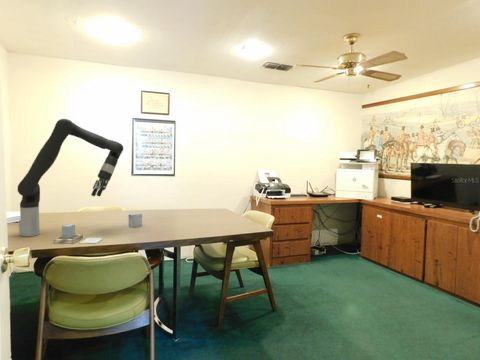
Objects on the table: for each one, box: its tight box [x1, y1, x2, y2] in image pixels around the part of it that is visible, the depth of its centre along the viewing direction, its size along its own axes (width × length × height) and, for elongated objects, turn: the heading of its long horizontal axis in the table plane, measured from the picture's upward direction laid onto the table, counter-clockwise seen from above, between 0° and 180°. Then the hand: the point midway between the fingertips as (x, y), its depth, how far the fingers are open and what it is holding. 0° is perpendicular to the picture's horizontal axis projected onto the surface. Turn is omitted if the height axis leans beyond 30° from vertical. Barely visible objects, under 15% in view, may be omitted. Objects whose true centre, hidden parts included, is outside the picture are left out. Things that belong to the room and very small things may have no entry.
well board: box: [52, 233, 84, 245], centre depth 173 cm, size 11×11×2 cm
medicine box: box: [127, 212, 143, 229], centre depth 210 cm, size 8×4×9 cm, turn 141°
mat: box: [79, 237, 104, 245], centre depth 174 cm, size 9×10×1 cm
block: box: [61, 223, 76, 239], centre depth 173 cm, size 4×4×9 cm
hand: (95, 195), depth 185 cm, fingers open, 8 cm apart
